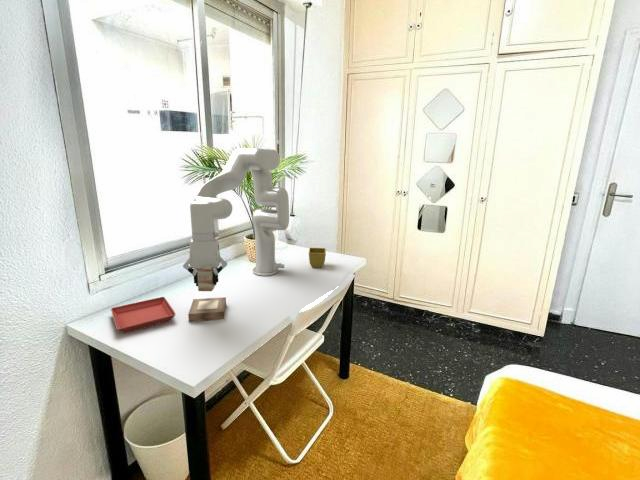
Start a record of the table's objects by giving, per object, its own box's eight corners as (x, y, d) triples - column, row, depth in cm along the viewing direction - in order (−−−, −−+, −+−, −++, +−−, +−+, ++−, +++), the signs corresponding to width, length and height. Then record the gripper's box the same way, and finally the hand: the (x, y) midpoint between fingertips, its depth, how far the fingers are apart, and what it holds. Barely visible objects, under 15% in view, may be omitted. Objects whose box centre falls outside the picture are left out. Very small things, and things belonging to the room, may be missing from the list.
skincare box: (197, 291, 120) (195, 265, 118) (201, 286, 125) (199, 260, 122) (212, 291, 121) (210, 265, 118) (215, 286, 125) (214, 261, 122)
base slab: (226, 304, 132) (225, 296, 131) (224, 319, 121) (223, 311, 120) (194, 306, 130) (193, 298, 129) (188, 321, 119) (188, 313, 118)
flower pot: (325, 269, 173) (325, 253, 170) (308, 269, 173) (308, 252, 170) (325, 264, 181) (325, 248, 179) (309, 263, 181) (309, 247, 179)
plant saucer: (111, 315, 122) (110, 307, 121) (164, 303, 132) (164, 295, 131) (118, 338, 108) (116, 329, 107) (177, 322, 118) (176, 314, 117)
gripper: (229, 233, 123) (231, 279, 128) (179, 234, 119) (183, 281, 124) (228, 238, 116) (230, 287, 121) (175, 239, 112) (179, 289, 117)
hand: (206, 283), depth 122 cm, fingers closed on skincare box, 5 cm apart
